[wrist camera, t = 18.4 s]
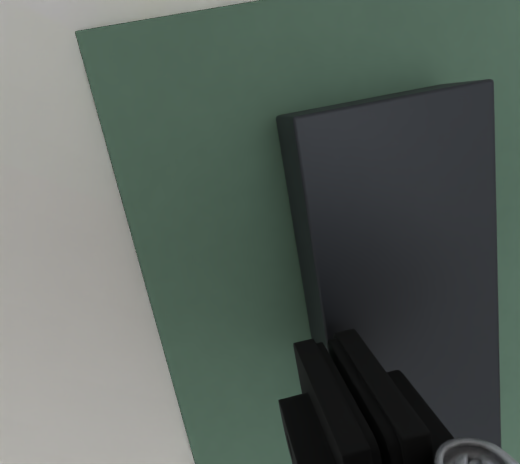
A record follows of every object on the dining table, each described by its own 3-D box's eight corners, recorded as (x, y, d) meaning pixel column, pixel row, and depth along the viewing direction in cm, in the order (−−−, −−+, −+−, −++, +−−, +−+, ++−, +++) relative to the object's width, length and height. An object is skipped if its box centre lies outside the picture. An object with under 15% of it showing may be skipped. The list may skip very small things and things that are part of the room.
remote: (292, 117, 10) (495, 77, 11) (273, 115, 13) (440, 84, 13) (357, 548, 14) (503, 506, 15) (334, 484, 17) (459, 451, 17)
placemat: (78, 33, 12) (74, 30, 11) (518, -41, 13) (528, -46, 13) (224, 563, 18) (225, 573, 17) (521, 480, 19) (528, 488, 18)
